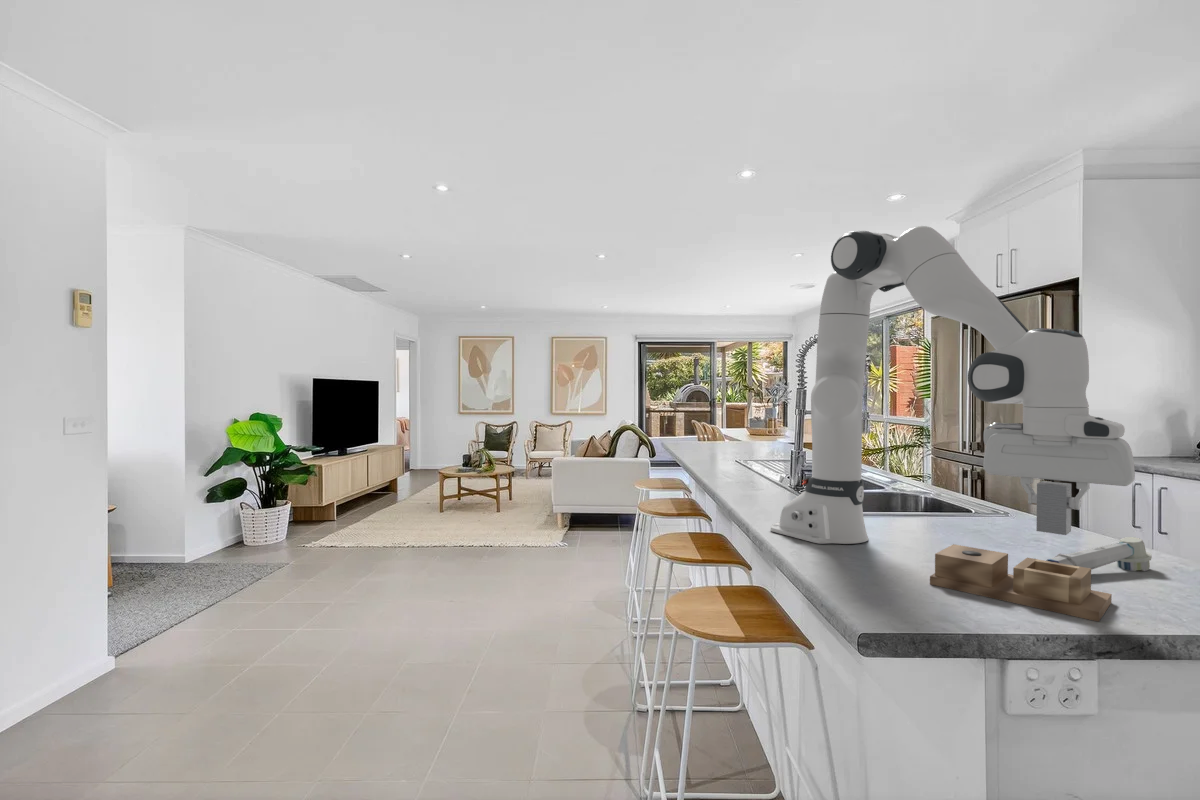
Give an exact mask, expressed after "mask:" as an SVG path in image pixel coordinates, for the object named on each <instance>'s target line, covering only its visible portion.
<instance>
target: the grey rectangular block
mask: <svg viewBox="0 0 1200 800" xmlns="http://www.w3.org/2000/svg"><path fill="white" fill-rule="evenodd" d="M1036 494H1037V505H1036V532H1041V533H1048V534H1053V535H1054V534H1055V535H1061V536H1067V535H1068V534H1070V533H1071V532H1072V509H1068V504H1069V503H1068V498H1069V497H1072V483H1067V482H1059V481H1058V482H1057V481H1045V480H1043V481H1040V482H1038V483H1036Z"/></svg>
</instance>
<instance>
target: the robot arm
mask: <svg viewBox="0 0 1200 800" xmlns="http://www.w3.org/2000/svg"><path fill="white" fill-rule="evenodd" d="M830 264H831V266H832V270H833V271H834V272H832V273H831V274H830V275H828V278H827V279H826V282H825V286H824V290H823V293H822V297H821V302H820V312H819V319H818V330H817V341H816V345H817V346H816V362H815V364H816V367H815V370H816V371H815V384H814V386H813V388H812V390H811V393H810V421H811V442H812V443H811V446H812V448H811V449H812V451H811V453H812V455H811V456H812V457H811V466H812V468H811V476H809V477H807V478H806V479H802V480H801V482H802V483H801V486H804V485H805V489H804V491H803V492H802V493H800V494H799V495H797V496H796V497H794V498H793V499H791V500H790V501H788V502H786V503H785V504H784V506H783V507H782V509H781V513H780V516H779V517H780V518H779V522H775V523H774V524H772V525H771V526H770V532H772V533H777V534H780V535H785V536H788V537H791V538H796V539H800V540H803V541H807V542H811V543H814V544H821V545H822V544H840V545H841V544H843V545H845V544H847V545H848V544H849V545H850V544H860V543H865V542H867V541H869V536H868V533H867V528H866V523H865V518H864V512H863V511H864V510H863V503H864V494H865V489H864V488H865V487H864V479H863V478H862V471H863V470H862V469H863V468H862V457H863V454H862V453H863V448H862V447H863V445H862V444H863V443H862V442H863V441H862V440H863V394H864V393H863V392H864V380H865V371H866V369H865V368H866V359H867V352H868V351H867V349H868V338H869V328H870V312H871V302H872V297H873V296H874V294H875V292H877V290H880V291H881V292H884V293H886V292H887V293H888V292H889V291H891V290H893V289H896V288H899V287H904V286H905V288H906V289H907V290H908V292H909V294H910V296H911V297H912V299H913V300H914V301H915V302H916V303H917V304H918V305H919V306H920V307H921V308H922V309H923V310H925V311H926V312H927V313H929V314H932V315H934V316H939V317H941V318H945V319H950V320H952V321H953V320H954V321H955V322H960V323H962V324H964V325H967V326H969V327H971V328H973V329H975V330H976V331H978V332H979V333H980V334H981V335H983V336H984V338H985V339H986V340H987V341H988V342H989V344H990V345H991V346H992V347H993V348H994V350H992V351H988V352H983V353H981V354H979V355H978V356H977V357H975V358H974V360H973V361H972V362H971V364H970V366H969V369H968V371H967V384H968V387H969V389H970V391H971V393H972V395H973V396H974V397H975V398H977V399H978V400H980V401H982V402H987V403H990V404H1006V405H1010V404H1011V405H1016V404H1017V405H1021V404H1022V423H1020V422H1017V423H1016V422H1011V423H1010V422H1008V423H1004V422H993V423H992V424H990V425H988V426H986V427H985V428H984V430H983V443H984V445H985V450H984V456H983V463H982V464H983V466H982V467H983V471H985V472H986V474H988V475H991V476H992V475H993V476H1004V477H1013V478H1014V477H1016V478H1020V483H1019V484H1020V485H1021V487H1022V488H1023V490H1024V491H1025V493H1026V494H1027V504H1028V505H1031V506H1033V505H1034V506H1037V492H1035V490H1034V489H1033V487H1032V486H1031V484H1033V483H1034V479H1035V480H1037V479H1038V480H1050V481H1058V482H1059V481H1061V482H1072V483H1075V484H1076V489H1077V490H1079V491H1078V493H1077V494H1076V495H1075V496H1074V497H1073V496H1071V497H1069V498H1068V503H1069V504H1068V509H1071V510H1074V511H1075V510H1077V511H1080V510H1081V507H1082V506H1081V505H1082V503H1081V502H1082V501H1081V500H1082V498H1083V497H1084V496H1085V495H1086V494H1087V492H1088V491H1089V490H1090V484H1095V485H1096V484H1097V485H1109V486H1115V487H1116V486H1118V487H1128V486H1129V485H1131V484H1133V482H1134V481H1135V480H1136V478H1135V477H1136V476H1135V475H1136V471H1135V462H1134V461H1135V460H1134V456H1133V451H1132V448H1131V446H1130V444H1129V443H1128V442H1127V441H1126V440H1125V439H1123V438H1122V437H1123V436H1124V435H1125V432H1126V431H1125V429H1126V428H1125V426H1124V425H1123V424H1122V423H1119V422H1116V421H1112V420H1109V419H1105V418H1103V417H1099V416H1093V415H1090V414H1089V411H1090V409H1089V402H1088V399H1087V392H1086V391H1087V388H1088V384H1089V382H1090V381H1089V380H1090V363H1089V362H1090V361H1089V351H1088V347H1087V342H1086V340H1085V338H1084V336H1083V334H1081V333H1080V332H1078V331H1075V330H1071V329H1062V328H1060V329H1059V328H1047V327H1046V328H1044V327H1038V328H1032V329H1030V330H1028V328H1027V326H1025V325H1024V324H1023V322H1021V320H1020V319H1019V318H1018V317H1017V316H1016V315H1015V314H1014V312H1012V311H1011V309H1010V308H1009V307H1008V306H1007V305H1006V304H1005V303H1004V302H1003V301H1002V300H1001V299H1000V298H999V297H998V296H997V295H995V293H994V292H993V291H992V290H991V289H989V287H987V286H986V284H985V283H983V281H982V280H981V279H980V278H979V276H977V275H976V274H975V273H974V271H973V270H972V269H971V268H970V266H969V265H968V264H967V263H966V262H965V260H964V259H963V258H962V256H961V255H960V253H959V252H958V251H957V250H956V248H955V247H954V246H953V245H952V244H951V243H950V242H949V241H948V239H946V237H944V236H943V235H942V234H941V233H939V232H938V231H937V230H936V229H934V228H932V227H930V226H927V225H920V226H914V227H911V228H909V229H908V230H906V231H904V232H903V233H901V234H900V235H899V236H896V235H893V234H889V233H879V232H878V233H877V232H871V231H868V230H853V231H848V232H846V233H844V234H842V235H841V236H840V237H839V238H838V239H837V240H836V242H835V243H834V245H833V247H832V249H831V254H830Z"/></svg>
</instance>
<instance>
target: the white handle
mask: <svg viewBox="0 0 1200 800" xmlns="http://www.w3.org/2000/svg"><path fill="white" fill-rule="evenodd" d="M1152 558H1153V557H1152V554H1151V553H1150V552H1148V551H1147V549H1146V544H1145V542H1144V540H1143V539H1141V538H1140V537H1139V538H1138V537H1136V536H1134V537H1133V536H1126V537H1121V538H1120V540H1119V542H1117V543H1112V544H1108V545H1102V546H1099V547H1093V548H1089V549H1084V550H1079V551H1075V552H1071V553H1066V554H1064V553H1059V554H1057V555H1056V556H1054V557H1052V558H1048V559H1046V560H1045V561H1050V562H1056V563H1062V564H1067V565H1073V566H1079V567H1085V568H1090V569H1091V571H1092V570H1095V569H1098V568H1101V567H1103V566H1106V565H1110V564H1112V563H1116V566H1117V568H1119V569H1121V570H1125V571H1132V572H1137V571H1141V572H1146V571H1150V567H1151V565H1150V563H1151V562H1150V561H1152Z"/></svg>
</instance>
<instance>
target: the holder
mask: <svg viewBox="0 0 1200 800" xmlns="http://www.w3.org/2000/svg"><path fill="white" fill-rule="evenodd" d="M929 585H932V586H937V587H940V588H945V589H949V590H954V591H959V592H962V593H967V594H968V593H969V594H972V595H976V596H982V597H984V598H985V597H986V598H991V599H995V600H999V601H1004V602H1008V603H1013V604H1018V605H1021V606H1027V607H1031V608H1035V609H1040V610H1045V611H1050V612H1053V613H1057V614H1063V615H1067V616H1072V617H1075V618H1081V619H1085V620H1090V621H1093V622H1094V621H1095V622H1100V621H1101V619H1102V618H1103V616H1104V614H1105V613H1106V612H1107V610H1108V608H1109V607H1110V606H1111V605H1112V599H1113V598H1112V595H1113V594H1112V593H1108V592H1104V591H1099V590H1093V589H1092V570H1091V569H1090V568H1085V567H1079V566H1073V565H1067V564H1062V563H1056V562H1050V561H1046V560H1043V559H1038V558H1037V559H1036V558H1034V557H1033V558H1031V557H1026V558H1025V559H1023V560H1021V562H1019V563H1018V564H1016V565H1015V566H1014V567H1013V573H1012V574H1009V553H1006V552H1001V551H995V550H989V549H984V548H979V547H978V548H977V547H972V546H965V545H959V544H954V543H953V544H951V545H949V546H948V547H946V548H944V549H942V550H940V551H938V552H935V554H934V573H933V574H931V575H929Z"/></svg>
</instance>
